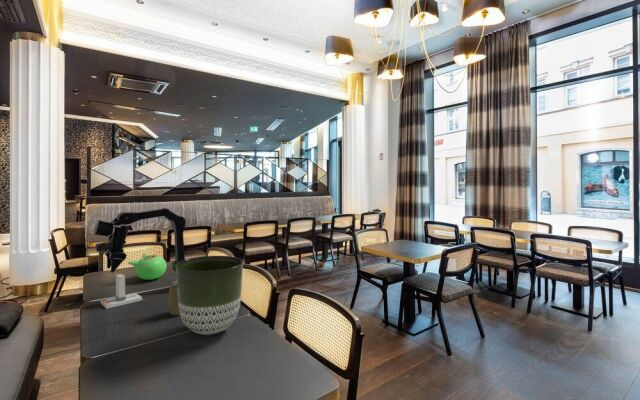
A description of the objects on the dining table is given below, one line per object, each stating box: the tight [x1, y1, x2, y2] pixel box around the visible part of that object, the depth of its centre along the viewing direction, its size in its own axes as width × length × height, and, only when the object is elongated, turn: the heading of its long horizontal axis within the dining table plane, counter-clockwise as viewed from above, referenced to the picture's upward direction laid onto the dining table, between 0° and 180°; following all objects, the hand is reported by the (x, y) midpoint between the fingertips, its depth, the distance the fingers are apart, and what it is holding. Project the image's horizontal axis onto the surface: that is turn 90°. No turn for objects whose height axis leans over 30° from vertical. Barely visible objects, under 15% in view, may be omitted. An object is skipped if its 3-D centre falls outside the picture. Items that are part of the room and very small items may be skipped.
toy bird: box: [127, 252, 168, 281], centre depth 191 cm, size 18×17×15 cm
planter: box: [175, 255, 244, 336], centre depth 125 cm, size 24×24×27 cm
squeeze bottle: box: [167, 274, 180, 316], centre depth 142 cm, size 8×8×18 cm
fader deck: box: [100, 292, 143, 310], centre depth 154 cm, size 15×9×2 cm, turn 138°
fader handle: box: [114, 273, 126, 301], centre depth 153 cm, size 3×6×11 cm, turn 47°
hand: (109, 270), depth 152 cm, fingers open, 9 cm apart
